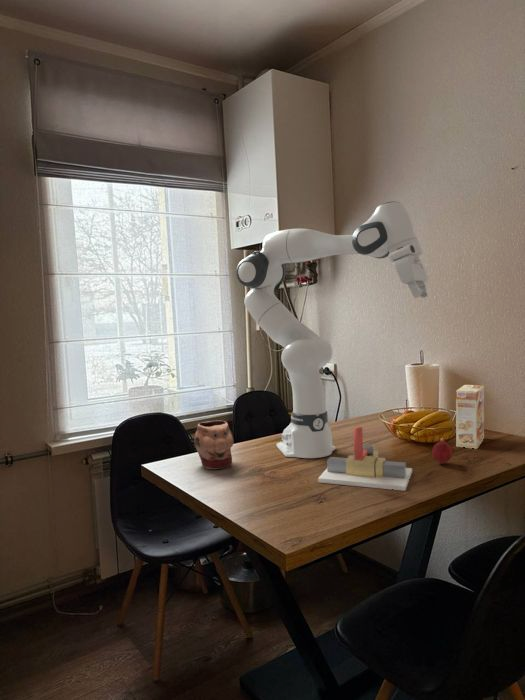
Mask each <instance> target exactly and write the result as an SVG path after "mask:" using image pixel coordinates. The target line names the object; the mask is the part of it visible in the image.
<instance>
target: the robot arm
mask: <svg viewBox="0 0 525 700" xmlns="http://www.w3.org/2000/svg"><path fill="white" fill-rule="evenodd" d="M336 255H337V256H338V255H363V256H366V257H372V258H375V259H386V258H388V259H389V261H390V262H392V264H393V266H394V269H395V271H396V274H397V276H398V279H399V280H400V282H401V283H402V285H407V287H408V288H409V290H410V292H411V294H412V296H413V298H414V299H418V298H423V299H424V298H427V297H428V296H429V294H428V292H427V285H426V283H427V282H428V281H429V278H428V274H427V272H426V269H425V267H424V265H423V261H422V260H421V258H420V256H421V255H423V251H422V248H421V246H420V242H419V239H418V237H417V235H416V234H415V232H414V227H413V222H412V219H411V218H410V215H409V212H408V210H407V208H406V207H405V205H404V204H403V203H401V202H399V201H394V200H393V201H388V202H384V203H382V204H379V205H377V207H376V208H375V211H374V212H373V213H372V215H371V216H370V217H369V218H368V219H367V220H366V221H365V222H363V224H361V225H360V226H359V225H358V227H357V228H356V229H355V230H354V232H353V234H341V235H340V234H339V235H338V234H331V233H326V232H322V231H319V230H315V229H311V228H310V229H309V228H302V227H301V228H289V229H283V230H277V231H274V232H271V233H269V234H267V235H266V236H264V239H263V242H262V246H261V250H260V251H259V250H255V251H253V252H252V253H251V254H250V255H248V256H246V257H244V258H243V259H241V261H239V263H238V264H237V267H236V271H235V273H236V274H235V275H236V278H237V280H238V281H239V283H240V284H241V285H242V286H244V287H246V288H248V289H249V291H248V292H247V294H246V295H245V297H244V300H243V302H244V306H245V308H246V309H247V311H248V313H249V315H250V316H251V318H253V320H254V321H255V322H256V324H257V325H258V326H259V327H260V328H261V329H262V331H263V332H264V333H265V334H266V335H267V336H268V337H269V338H270V340H272V342H274V343H276V344H278V345H280V347H283V350H282V352H281V357H280V359H281V363H282V366H283V367H284V368H285V369H286V372H287V374H288V377H289V381H290V385H291V391H292V408H293V409H292V410H293V411H291V412H290V413H291V414H290V423H289V425H288V426H286V428H284V429H283V431H282V433H280V438H281V441H280V442H277V443H276V447H277V449H279V451H280V453H282V454H283V455H284V456H285V457H287V458H302V459H318V458H319V459H320V458H324V457H325V458H326V457H328V456H331V455H332V454H333V451H335V450H336V446H335V445H333V438H332V429H331V426H330V425H329V424H328V422H329V419H328V418H329V416H328V415H329V414H328V411H327V400H326V398H327V397H326V386H324V384H323V382H322V379H321V375H320V369H322V368H323V367H325V366H326V365H327V364H328V363H329V362H330V361H331V359H332V356H333V348H332V345H331V344H330V343H329V341H327V340H326V339H324V338H322V337H320V336H319V335H318V334H317V333H315V332H314V331H313V330H312V329H311V328H309V327H308V326H306V325H305V324H304V323H302V322H301V321H300V320H299V319H298V318H296V316H295V315H293V313H292V312H291V311H290V310H289V309H288V308H287V307H286V306H285V304H284V303H282V301H281V300H279V299H278V298H277V296H276V295H275V293H277V292H278V291H279V289H280V288H281V285H282V284H283V282H284V281H285V278H286V275H287V269H286V266H285V265H284V264H291V263H292V264H293V263H295V264H296V263H305V262H310V261H313V260H317V259H318V260H319V259H322V258H327V257H331V256H336Z"/></svg>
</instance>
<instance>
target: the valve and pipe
mask: <svg viewBox="0 0 525 700" xmlns="http://www.w3.org/2000/svg"><path fill="white" fill-rule="evenodd" d="M406 464H407V463H406V462H402V461H392V460H391V461H389V460H386V457H379V450H374V449H373V453H371V454H367V455H366V457H365V458H364V459H363V461H360V460H355V458H354V453H353V454H352V455H351V454H350V455H348V457H339V456H330V457H328V458H327V459H326V469H327V471H329V472H340V473H346V474H350V475H353V476H364V477H375V476H376V477H383V476H386V477H397V478H405V475H406V468H407V465H406Z"/></svg>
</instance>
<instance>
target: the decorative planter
mask: <svg viewBox="0 0 525 700" xmlns="http://www.w3.org/2000/svg"><path fill="white" fill-rule="evenodd" d="M193 437H194V438H193V443H194V446H195V448H196V450H197V454H198V456H199V458H200V462H201V466H202V467H203V468H205V469H207V470H219V469H226V468H229V467H231V465H232V464H233V463H232V462H233V457H232V456H233V455H232V452H231V450H232V447H233V446H234V441H235V440H234V438H233V437H234V436H233V433H232V431H231V428H230V426H229V424H228V422H227V421H224V420H210V421H204V422H199V423H198V424H197V427H196V431H195V434H194V436H193Z"/></svg>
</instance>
